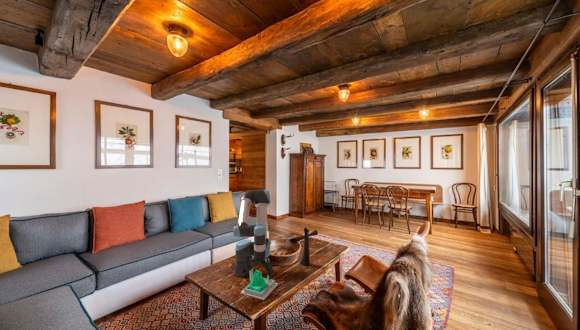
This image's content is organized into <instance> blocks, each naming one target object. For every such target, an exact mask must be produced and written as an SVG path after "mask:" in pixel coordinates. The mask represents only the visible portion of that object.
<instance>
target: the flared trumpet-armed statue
mask: <svg viewBox="0 0 580 330" xmlns="http://www.w3.org/2000/svg"><path fill="white" fill-rule="evenodd" d="M303 232H304V235H302V236H297V237H291V238H290V239H289V242H290V243H291V244H297V243H298V242H300V241H302V240H303V242H304V243H303V254H302V258H301V259H300V261H299V264H300V265H301V266H303V267H309V266H310V265H311V263H310V243H309V242H310V241H309V240H310V237H312V236H313V237H314V236H318V235H319V232H318V230H317V229H315V230H313V231H311V232H310V229H308V228H307V227H304V228H303Z"/></svg>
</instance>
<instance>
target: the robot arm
mask: <svg viewBox="0 0 580 330" xmlns="http://www.w3.org/2000/svg"><path fill="white" fill-rule="evenodd" d="M252 204H253V205H254V206H255V207H256V220H255V221H256V222H255V223H256V225H255V224H254V225H252V224H251V225H249V218H250V210H251V209H250V208H251V205H252ZM270 204H271V196H270V191H269V190H268V189H249V190H247V191H245V192H244V193H243V194H242V195H241V197H240V198H239V205H240V206H239V213H238V218H237V225H234V226H233V230H232V231H233V232H232V236H233V237H234V238H246V237H248V238H249V237H253V241H252V240H251V239H242V240H239V241H237V242H236V243H235V249H234V250H235V264H234V267H233V270H232V271H233V272H232V273H233V275H235V276H236V277H248V276H249V281H250V282H251V279H252V277H253V274H254V267H255V265H260V266H262V267H263V269H264V270H265V271H266V274H267V275H266V278H267V285H269V284H270V280H271V279H272V275H274V274H275V271H274V268H273V265H272V262H271V258H270V254H271V253H270V252H271V245H272V244H271V243H272V241H270V238H269V237H268V207H269V206H270ZM253 260H254V261H253Z"/></svg>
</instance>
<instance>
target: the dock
mask: <svg viewBox="0 0 580 330" xmlns="http://www.w3.org/2000/svg"><path fill="white" fill-rule="evenodd" d="M262 277H263V276H262ZM263 279H266V280H267V277H263ZM249 285H250V283H249V284H248V285H247V286H246V287H244V288H243V289H242V290H241V291H240V294H241V295H245V296H249V297H252V298H256V299H258V300H262V301H265V300H266V298H267V297H269V296H270V294H271V293H272V292H273V291H274V290H275V289H276V287H277V286H278V285H279V283H277V282H276V280H275V279H272V278H271V280H270V284H269V285H267V287H266V288H265V289H264V290H263V291H261V290H260V291H255V290H253V289H250V288H249Z"/></svg>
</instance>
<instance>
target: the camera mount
mask: <svg viewBox="0 0 580 330" xmlns="http://www.w3.org/2000/svg"><path fill="white" fill-rule="evenodd" d="M262 273H263V272H261V270H258V269H256V270H254V271H253V277H252V279H251V281H250V283H249V284H250V285H249V284H248V285H249V288H250V289H253V290H255V291H260V290H261V291H263V290H264V289H265V288H266V287H267V280H266V279H263V274H262Z"/></svg>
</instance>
